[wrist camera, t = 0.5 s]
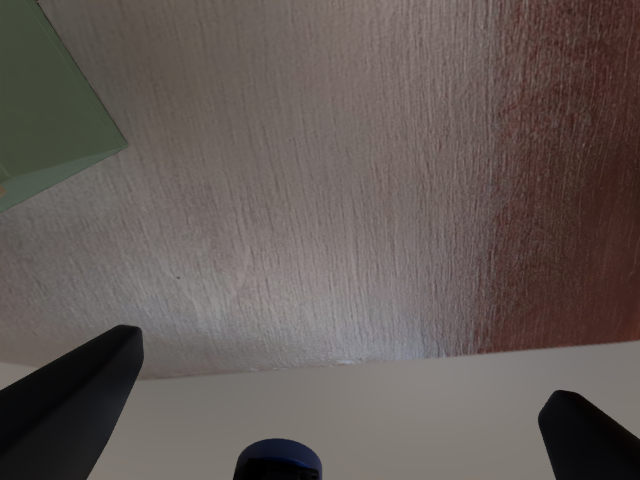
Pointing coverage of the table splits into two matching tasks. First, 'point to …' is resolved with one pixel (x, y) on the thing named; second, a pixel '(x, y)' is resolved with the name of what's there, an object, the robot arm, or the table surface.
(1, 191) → the lid
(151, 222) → the table surface
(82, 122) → the chest
